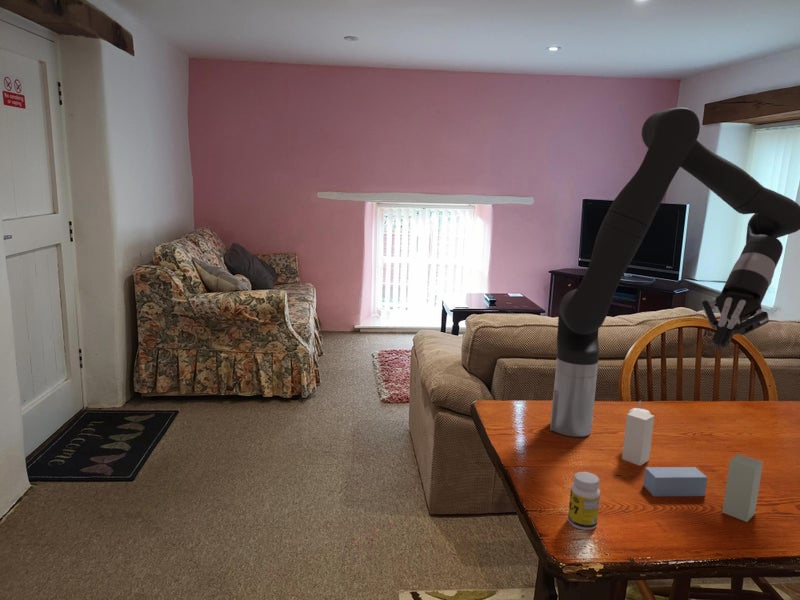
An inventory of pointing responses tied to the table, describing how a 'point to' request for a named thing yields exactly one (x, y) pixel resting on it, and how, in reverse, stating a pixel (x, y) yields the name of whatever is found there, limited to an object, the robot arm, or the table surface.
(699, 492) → the slate blue block
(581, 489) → the supplement bottle
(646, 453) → the cream block
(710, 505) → the table surface
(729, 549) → the table surface
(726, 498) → the sage block
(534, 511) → the table surface
